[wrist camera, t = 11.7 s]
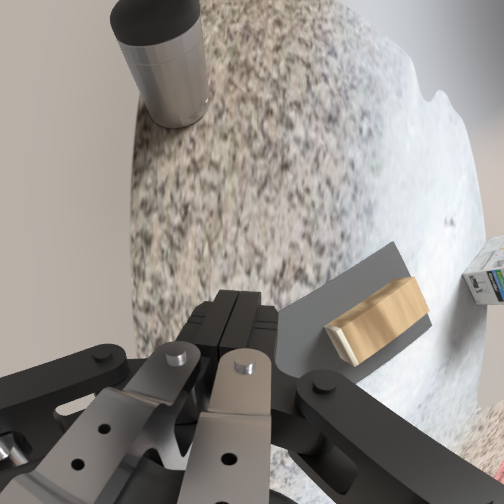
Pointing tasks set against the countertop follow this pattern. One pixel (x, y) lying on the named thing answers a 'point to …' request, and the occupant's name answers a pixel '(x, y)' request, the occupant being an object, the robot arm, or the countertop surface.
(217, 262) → the countertop surface
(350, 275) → the mat
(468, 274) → the light bulb box
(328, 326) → the oak block
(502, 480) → the cloth
